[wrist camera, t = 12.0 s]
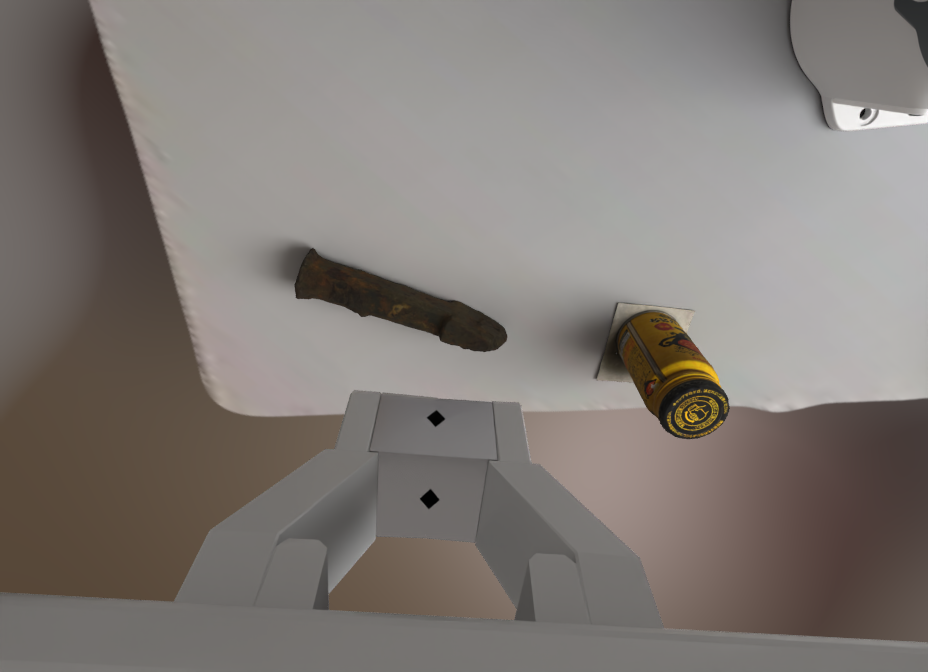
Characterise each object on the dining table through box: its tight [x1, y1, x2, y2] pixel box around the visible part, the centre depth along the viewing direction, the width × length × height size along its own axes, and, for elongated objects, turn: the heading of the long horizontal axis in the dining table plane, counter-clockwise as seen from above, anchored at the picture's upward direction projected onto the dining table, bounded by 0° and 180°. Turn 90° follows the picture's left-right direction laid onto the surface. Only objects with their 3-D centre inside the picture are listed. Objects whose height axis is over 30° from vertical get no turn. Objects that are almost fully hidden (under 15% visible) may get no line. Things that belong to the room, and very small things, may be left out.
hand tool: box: [295, 248, 507, 352], centre depth 48 cm, size 19×4×5 cm, turn 67°
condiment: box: [597, 303, 730, 439], centre depth 47 cm, size 7×8×12 cm
